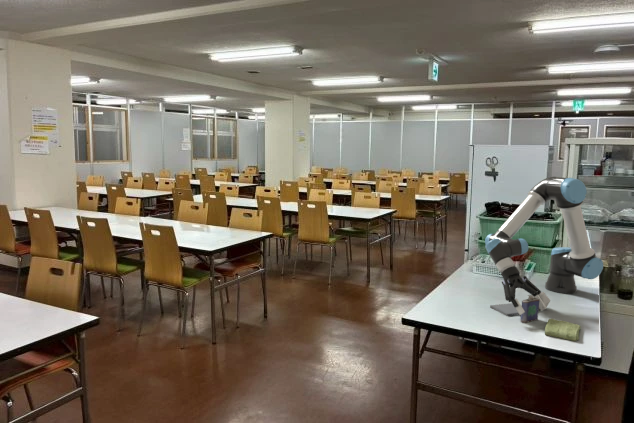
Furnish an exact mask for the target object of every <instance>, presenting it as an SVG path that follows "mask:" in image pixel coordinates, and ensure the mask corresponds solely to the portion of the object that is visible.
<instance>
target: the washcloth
mask: <svg viewBox="0 0 634 423" xmlns="http://www.w3.org/2000/svg"><path fill="white" fill-rule="evenodd" d="M544 327H545V328H544V335H546V336H547V337H548V336H549V337H552V338H553V337H554V338H556V339H557V338H559V339H565V340H568V341H570V342H571V341H572V342H577V341H579V340H580V337H579V336H580V335H579V334H580V330H581V328H582V327H581V326H580V325H579V324H577V323H573V322H570V321H565V320H557V319H554V318H549V319H548V320H547V321H546V325H545V326H544Z"/></svg>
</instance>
